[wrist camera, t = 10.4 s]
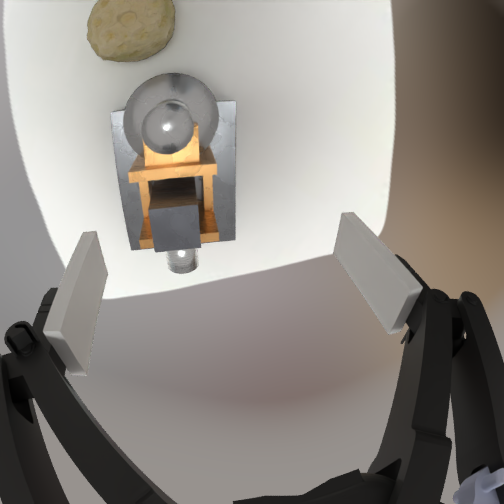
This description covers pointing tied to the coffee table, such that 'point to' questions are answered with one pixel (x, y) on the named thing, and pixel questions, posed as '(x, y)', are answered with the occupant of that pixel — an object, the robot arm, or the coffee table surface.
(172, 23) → the decorative object
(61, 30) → the coffee table surface
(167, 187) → the dark gray rectangular block
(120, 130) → the multicoloured piece
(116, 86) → the coffee table surface
